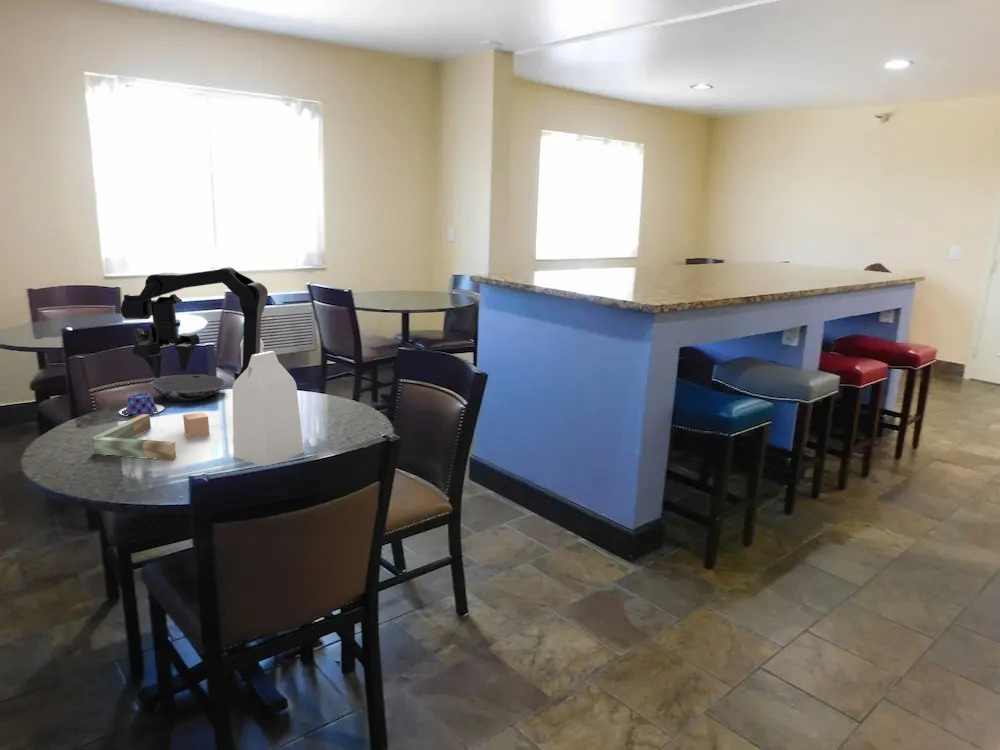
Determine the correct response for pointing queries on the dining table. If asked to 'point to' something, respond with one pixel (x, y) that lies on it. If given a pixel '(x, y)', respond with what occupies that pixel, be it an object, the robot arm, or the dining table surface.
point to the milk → (266, 412)
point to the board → (187, 386)
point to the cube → (196, 424)
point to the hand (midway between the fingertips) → (170, 374)
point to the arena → (132, 441)
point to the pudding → (141, 405)
